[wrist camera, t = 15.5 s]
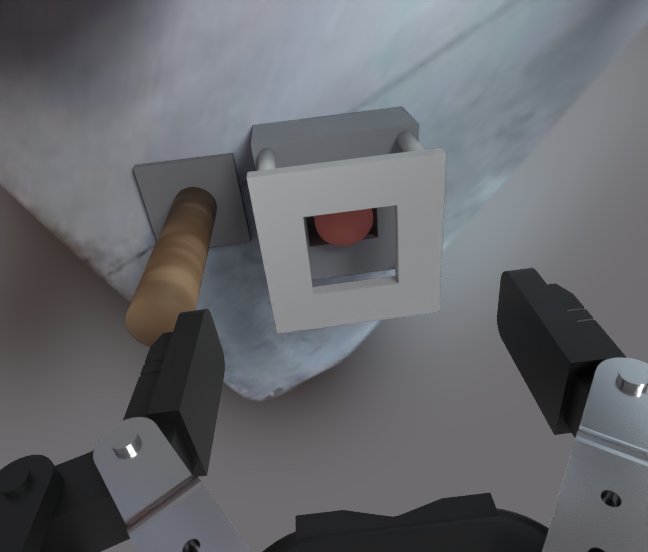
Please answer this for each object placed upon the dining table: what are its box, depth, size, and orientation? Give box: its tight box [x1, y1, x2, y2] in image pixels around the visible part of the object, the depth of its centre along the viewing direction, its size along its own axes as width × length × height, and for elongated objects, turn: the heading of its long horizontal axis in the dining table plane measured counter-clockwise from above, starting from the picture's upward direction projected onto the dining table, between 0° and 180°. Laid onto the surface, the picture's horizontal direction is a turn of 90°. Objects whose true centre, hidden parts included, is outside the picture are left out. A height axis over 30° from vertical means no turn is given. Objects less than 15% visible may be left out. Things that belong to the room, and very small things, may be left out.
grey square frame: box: [247, 107, 446, 334], centre depth 36 cm, size 12×12×12 cm
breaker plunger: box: [314, 208, 373, 246], centre depth 38 cm, size 4×4×5 cm
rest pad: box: [133, 153, 251, 247], centre depth 41 cm, size 8×8×1 cm
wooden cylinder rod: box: [125, 187, 217, 347], centre depth 34 cm, size 4×4×16 cm
